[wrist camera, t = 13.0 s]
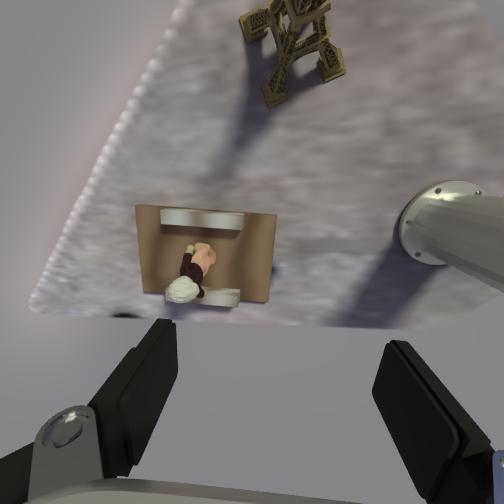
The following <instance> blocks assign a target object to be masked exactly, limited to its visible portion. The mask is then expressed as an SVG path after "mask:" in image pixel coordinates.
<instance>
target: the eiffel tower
mask: <svg viewBox="0 0 504 504" xmlns="http://www.w3.org/2000/svg"><path fill="white" fill-rule="evenodd" d="M267 5H268V8H267V9H261V8H260V6H259V7H257V8H255V9H253V10H252V11H250V12H248V13H246V14H244V15H242V16H241V17H239V19H240V22H241V25H242V28H243V31H244V34H245V37H246V41H247V44H248V43H250V42H252V41H253V40H255V39H257V38H259V37H261V36H263V35H265V34H267V33H268V30H267V27H269V26H270V28H271V31H272V33H273V36H274V39H275V43H276V47H277V51H278V55H279V62H278V64H277V66H276V68H275V69H274V71H273V73H272V75H271V77H270V78H269V80H268V82H267V83H265V85H263V86H262V89H263V93H264V96H265V99H266V102H267V105H268V108H271V107H273V106H275V105H277V104H279V103H281V102H284V101H286V100H288V98H287V93H286V83H287V76H288V69H289V65H290V64H291V63H293V62H294V61H296V60H297V59H299V58H300V57H302V56H304V55H306V54H309V53H312V52H315V51H319V53H320V55H321V57H319V62H320V66H321V70H322V74H323V78H324V82H327V81H329V80H331V79H333V78H336V77H338V76H340V75H342V74H344V73H346V70H345V65H344V61H343V57H342V52H341V48H339V49H338V48H336V47H334V46H333V45H332V44H331V43H330V41H329V39H328V37H329V36H331V33H330V30H329V26H328V23H327V18H326V14H325V13H326V12H327V11H329V10H330V9H331V4H330V0H269V1H267ZM286 14H288V17H289V19H290V23H289V27H288V30H287V33H286V30H285V26H284V22H283V16H285V15H286ZM311 21H312V22H313V27H314V29H313V32H312V33H311V34H309V35H307V36H305V37H303V38H301V39H299V40H297V38H298V36H299V33H300V30H301V28H302V26H304V25H306V24H308V23H310V22H311Z"/></svg>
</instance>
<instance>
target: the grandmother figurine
mask: <svg viewBox="0 0 504 504" xmlns="http://www.w3.org/2000/svg"><path fill="white" fill-rule="evenodd" d="M193 251H194V252H195V254H194V256H193V257H192V255H193ZM210 251H211V248H210V246H209V245H208V244H204V243H196V244H195V245H194V246H193V245H188V246H187V250H186V251H185V253H184V255H183V260H182V264H181V267H180V276H181V277H179V278H177V279H176V280H174V281H173V282H172V284H170V286H169V290H168V292H169V297H170V300H171V301H173V302H175V303H186V302H189V301H191V300H192V299H195V297H197V298H203V297H204V296H206V295H207V290H205V289H202V287H201V286H200V285H201V283H202V281H203V278H204V276H205V275H206V273H207V271H208V269H209V267H210V266H212V265H214V264H215V259H214V258H213V257H212V256H208V253H209V252H210Z"/></svg>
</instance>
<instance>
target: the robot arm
mask: <svg viewBox="0 0 504 504" xmlns="http://www.w3.org/2000/svg"><path fill="white" fill-rule="evenodd" d="M406 221H407V222H406ZM399 239H400V243H401V245H402V247H403V249H404V250H405V251H406V252H407V253H408V254H409V255H410V256H411V257H413V258H414V259H416V260H418V261H420V262H422V263H425V264H430V265H443V264H448V265H450V266H452V267H454V268H456V269H458V270H460V271H462V272H464V273H466V274H468V275H470V276H472V277H474V278H476V279H478V280H480V281H482V282H484V283H486V284H488V285H490V286H492V287H494V288H496V289H498V290H500V291H502V292H504V197H495V196H488V195H487V193H486V192H485V191H484V190H483V189H481V188H480V187H479V186H477V185H475V184H472V183H470V182H464V181H447V182H442V183H438V184H435V185H433V186H431V187H429V188H427V189H425V190H424V191H422V192H421V193H419V194H418V195H417V196H416V197H415V198H414V199H413V200H412V201H411V202H410V203H409V205H408V206H407V207H406V209H405V211H404V213H403V214H402V217H401V220H400V223H399ZM177 359H178V358H177V339H176V324H175V323H172V320H171V319H161V318H158V319H157V320H156V321H155V323H154V324H153V325H152V327H151V328H150V330H149V331H148V332H147V334H146V335H145V336H144V338H143V339H142V340H141V342H140V343H139V344H138V346H137V347H136V348H135V347H134V348H132V349H130V351H129V352H128V353H127V354H126V356H125V357H124V358H123V359H122V361H121V362H120V363H119V365H118V366H117V367H116V369H115V370H114V371H113V372H112V374H111V375H110V376H109V378H108V379H107V380H106V382H105V383H104V384H103V385H102V387H101V388H100V389H99V390H98V392H97V393H96V394H95V396H94V397H93V398H92V400H91V401H90V402H89V403H88V405H87V406H84V405H78V406H73V407H70V408H67V409H65V410H63V411H61V412H59V413H57V414H56V415H54V416H53V417H52V418H50V419H49V420H48V421H47V422H46V423H45V424H44V425H43V426H42V427H41V429H40V430H39V432H38V433H37V435H36V438H35V441H34V442H32V443H30V444H28V445H26V446H24V447H22V448H21V449H19V450H17V451H15V452H13V453H11V454H9V455H7V456H5V457H3V458H1V459H0V504H361V503H353V502H345V501H336V500H328V499H319V498H311V497H302V496H294V495H284V494H277V493H268V492H259V491H250V490H241V489H232V488H223V487H214V486H205V485H196V484H187V483H177V482H165V481H154V480H143V479H120V478H117V476H125V477H128V476H129V473H130V471H131V469H132V467H133V465H138V463H139V461H140V459H141V457H142V455H143V453H144V451H145V448H146V446H147V444H148V441H149V439H150V437H151V434H152V432H153V429H154V428H155V426H156V423H157V421H158V419H159V416H160V414H161V412H162V409H163V407H164V405H165V403H166V400H167V398H168V396H169V394H170V391H171V389H172V387H173V385H174V382H175V380H176V377H177V374H178V360H177ZM372 395H373V398H374V401H375V403H376V405H377V407H378V409H379V411H380V413H381V415H382V418H383V420H384V422H385V424H386V426H387V428H388V430H389V432H390V434H391V436H392V439H393V441H394V443H395V445H396V447H397V449H398V451H399V453H400V456H401V458H402V460H403V462H404V464H405V466H406V468H407V470H408V473H409V475H410V477H411V479H412V481H413V483H414V485H415V487H416V489H417V491H418V493H419V495H420V496H421V497H422V498H423V499H425V500H426V502H427V504H504V450H498V451H496V452H495V451H494V449H493V448H492V447H491V446H490V443H491V441H490V440H489V439H488V437H487V436H486V435H485V434H484V432H483V431H482V430H481V429H480V428H479V426H478V425H477V424H476V423H475V422H474V420H473V419H472V418H471V417H470V416H469V415H468V413H467V412H466V411H465V410H464V408H463V407H462V406H461V405H460V404H459V402H458V401H457V400H456V399H455V398H454V396H453V395H452V394H451V393H450V392H449V390H448V389H447V388H446V387H445V386H444V385H443V383H442V382H441V381H440V380H439V378H438V377H437V376H436V375H435V374H434V373H433V372H432V370H431V369H430V368H429V366H428V365H427V364H426V363H425V362H424V360H423V359H422V358H421V357H420V356H419V354H418V353H417V352H416V351H415V350H414V348H413V347H412V346H411V345H410V344H409V343H408V342H407V341H399V340H391V341H390V343H387V344H386V346H385V349H384V353H383V356H382V359H381V362H380V365H379V369H378V372H377V375H376V378H375V382H374V385H373V388H372Z"/></svg>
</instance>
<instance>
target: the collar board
mask: <svg viewBox="0 0 504 504" xmlns="http://www.w3.org/2000/svg"><path fill="white" fill-rule="evenodd" d="M135 209H136V220H137V230H138V240H139V251H140V261H141V271H142V282H143V291H145V292H156V293H165V296H166V301H171V300H170V297H169V292H168V290H169V286H170V284H172V282H173V281H174V280H176V279H177V278H179V277H181V276H180V267H181V264H182V260H183V255H184V253H185V251H186V250H187V246H188V245H193V246H194V245H195V244H196V243H204V244H208V245H209V246H210V248H211V251H210V252H209V253H208V256H212V257H213V258H214V259H215V264H214V265H212V266H210V267H209V269H208V271H207V273H206V275H205V276H204V278H203V281H202V283H201V285H200V286H201V287H202V289H205V290H207V295H206V296H204V297H203V298H197V297H195V299H192V300H191V301H189V302H186V303H194V304H205V305H217V306H228V307H238V304H239V300H247V301H258V302H268V300H269V290H270V280H271V270H272V260H273V250H274V240H275V230H276V220H277V215H272V214H259V213H246V212H232V211H219V210H206V209H193V208H179V207H166V206H153V205H140V204H139V205H135ZM194 254H195V252H194V251H193V255H192V257H193V256H194ZM172 302H173V301H172Z"/></svg>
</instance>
